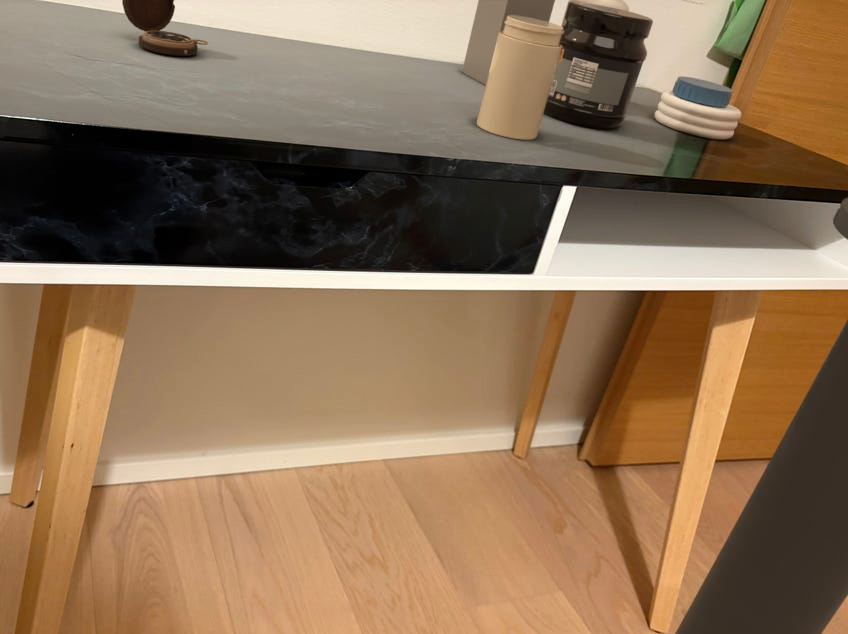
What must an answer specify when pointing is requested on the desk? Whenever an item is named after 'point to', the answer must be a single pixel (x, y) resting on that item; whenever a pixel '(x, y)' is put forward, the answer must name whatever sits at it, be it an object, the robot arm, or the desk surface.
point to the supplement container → (597, 65)
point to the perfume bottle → (496, 30)
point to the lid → (702, 91)
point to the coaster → (697, 117)
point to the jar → (520, 77)
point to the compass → (158, 27)
